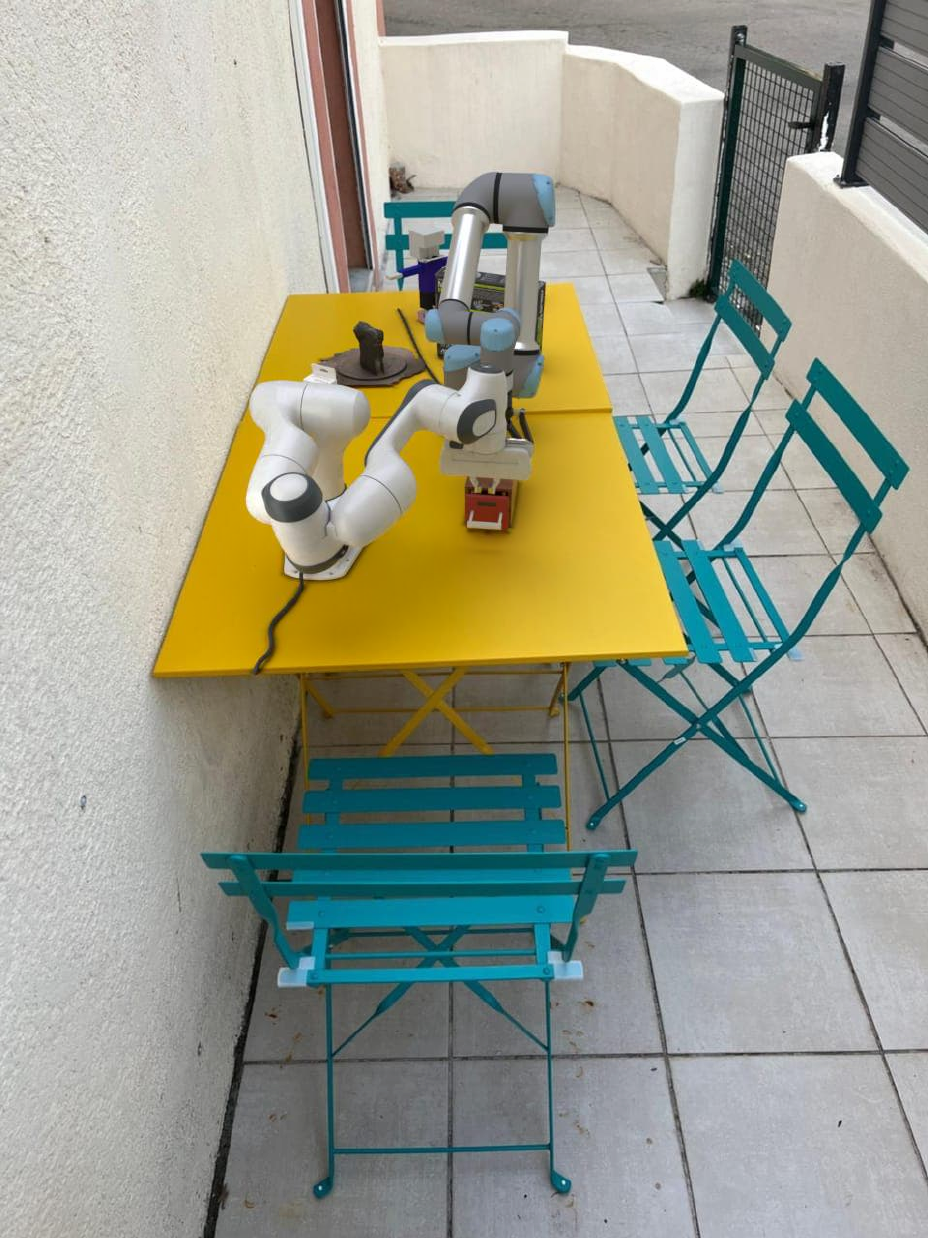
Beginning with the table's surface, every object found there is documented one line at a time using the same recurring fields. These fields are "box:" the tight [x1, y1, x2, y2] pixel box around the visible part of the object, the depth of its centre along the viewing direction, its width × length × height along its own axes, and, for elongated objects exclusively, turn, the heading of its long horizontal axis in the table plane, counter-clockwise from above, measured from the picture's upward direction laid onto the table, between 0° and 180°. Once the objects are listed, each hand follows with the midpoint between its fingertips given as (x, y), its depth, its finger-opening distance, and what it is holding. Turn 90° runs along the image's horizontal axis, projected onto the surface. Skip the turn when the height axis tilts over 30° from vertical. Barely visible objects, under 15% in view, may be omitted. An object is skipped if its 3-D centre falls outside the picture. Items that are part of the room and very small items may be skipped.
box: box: [435, 266, 547, 359], centre depth 273 cm, size 34×7×27 cm, turn 68°
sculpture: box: [316, 320, 426, 387], centre depth 273 cm, size 33×35×16 cm
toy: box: [384, 223, 448, 325], centre depth 298 cm, size 35×10×30 cm, turn 130°
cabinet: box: [464, 476, 519, 528], centre depth 216 cm, size 20×11×11 cm, turn 172°
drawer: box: [465, 490, 509, 531], centre depth 211 cm, size 25×10×9 cm, turn 172°
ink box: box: [302, 363, 337, 384], centre depth 249 cm, size 9×5×15 cm, turn 62°
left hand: (485, 492), depth 198 cm, fingers closed
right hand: (494, 471), depth 219 cm, fingers closed on cabinet, 11 cm apart
